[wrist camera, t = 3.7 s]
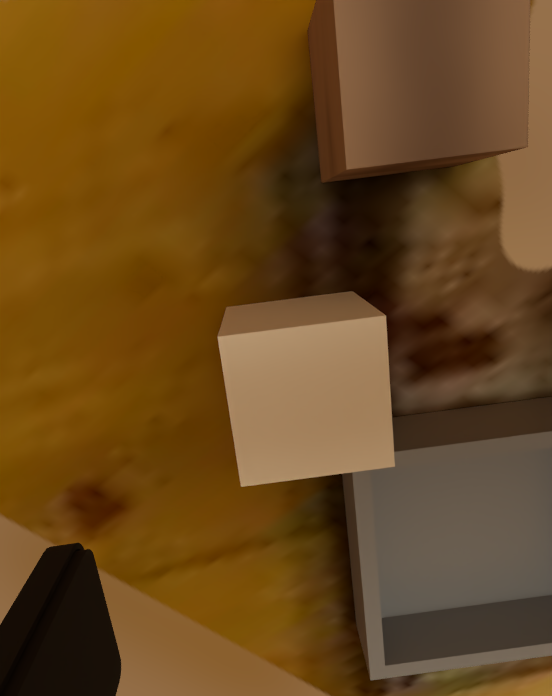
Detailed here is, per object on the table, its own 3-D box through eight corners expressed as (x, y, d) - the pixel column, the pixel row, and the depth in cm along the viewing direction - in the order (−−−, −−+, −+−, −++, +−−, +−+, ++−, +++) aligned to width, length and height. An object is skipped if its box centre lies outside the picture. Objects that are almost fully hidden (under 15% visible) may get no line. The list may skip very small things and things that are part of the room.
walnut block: (450, 13, 20) (531, -71, 14) (453, 166, 21) (527, 146, 16) (307, 30, 20) (329, -47, 14) (321, 183, 21) (346, 169, 16)
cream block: (352, 290, 23) (385, 315, 17) (361, 407, 24) (394, 466, 18) (226, 306, 23) (217, 336, 17) (244, 422, 24) (240, 486, 18)
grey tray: (581, 392, 24) (633, 420, 21) (570, 594, 28) (614, 646, 24) (337, 424, 24) (351, 457, 21) (356, 624, 28) (370, 680, 24)
